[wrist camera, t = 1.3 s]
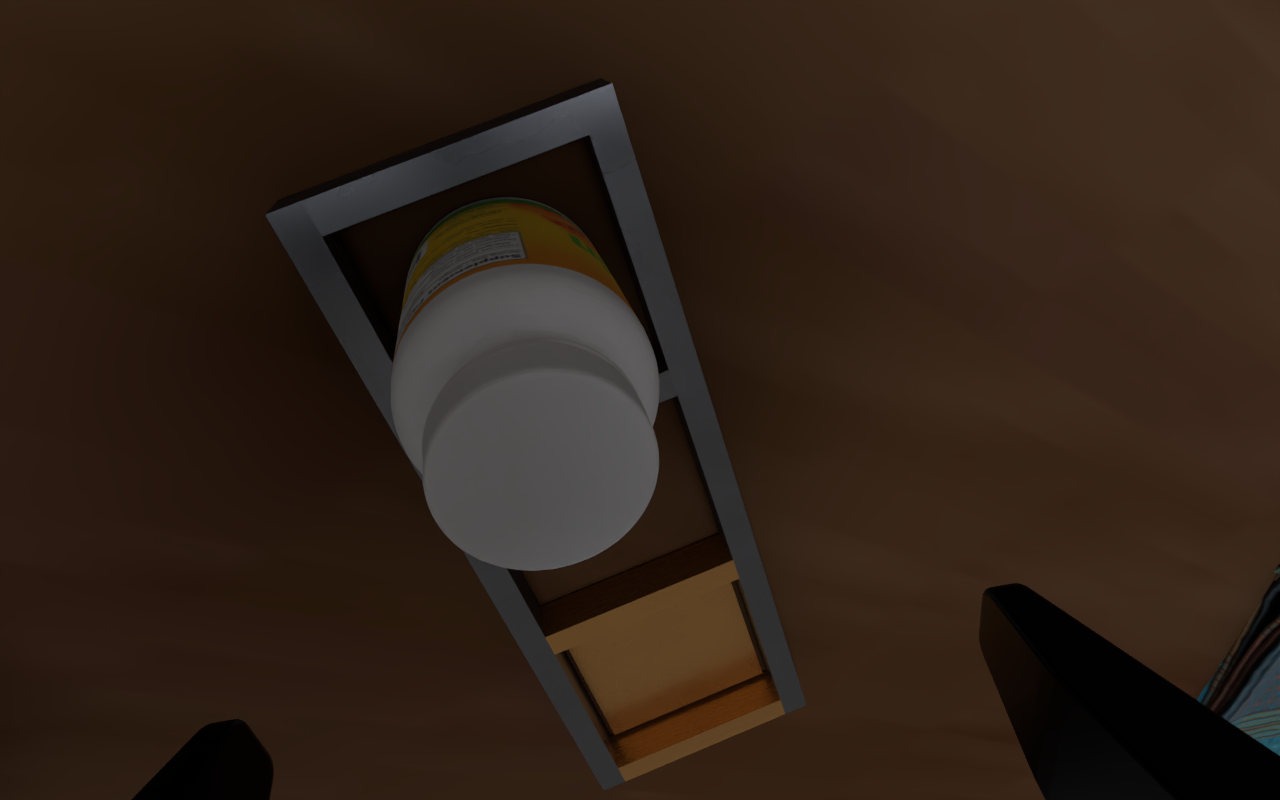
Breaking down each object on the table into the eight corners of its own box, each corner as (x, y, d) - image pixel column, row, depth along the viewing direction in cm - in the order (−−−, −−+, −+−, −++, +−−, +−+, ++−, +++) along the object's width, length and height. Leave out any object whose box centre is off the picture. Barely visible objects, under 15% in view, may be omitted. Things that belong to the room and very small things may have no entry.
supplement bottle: (631, 329, 22) (741, 522, 14) (467, 407, 22) (478, 649, 14) (553, 158, 20) (631, 268, 11) (367, 246, 20) (303, 424, 11)
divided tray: (597, 757, 30) (604, 790, 29) (277, 200, 19) (264, 214, 17) (791, 675, 31) (806, 704, 30) (600, 78, 19) (611, 83, 18)
